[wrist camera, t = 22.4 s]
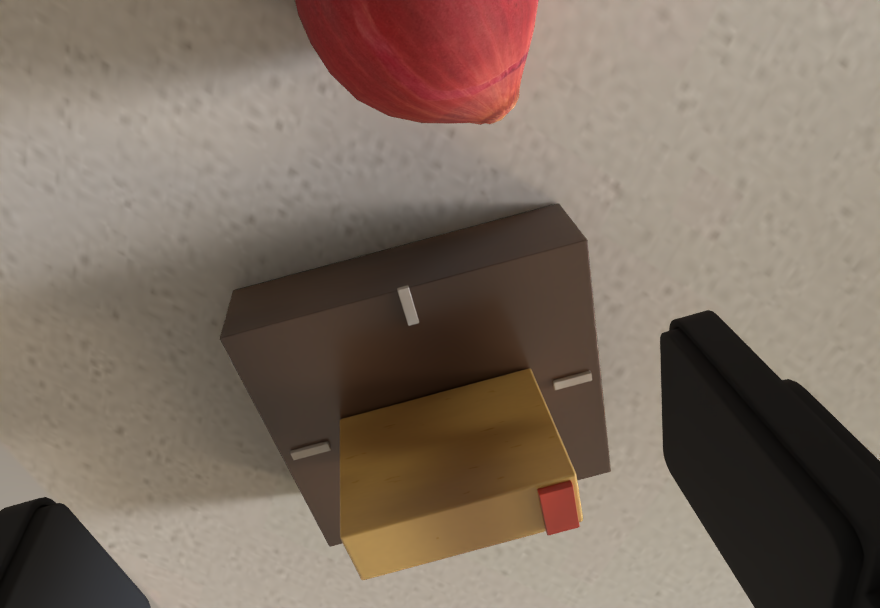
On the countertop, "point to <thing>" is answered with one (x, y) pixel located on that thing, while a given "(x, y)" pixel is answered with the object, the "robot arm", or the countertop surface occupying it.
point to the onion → (425, 54)
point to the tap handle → (453, 475)
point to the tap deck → (422, 340)
